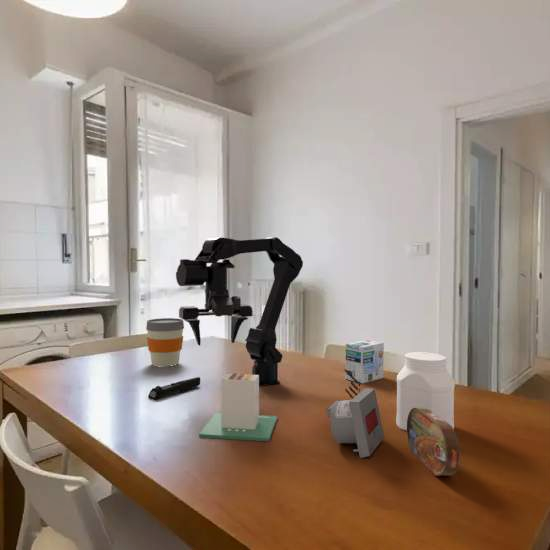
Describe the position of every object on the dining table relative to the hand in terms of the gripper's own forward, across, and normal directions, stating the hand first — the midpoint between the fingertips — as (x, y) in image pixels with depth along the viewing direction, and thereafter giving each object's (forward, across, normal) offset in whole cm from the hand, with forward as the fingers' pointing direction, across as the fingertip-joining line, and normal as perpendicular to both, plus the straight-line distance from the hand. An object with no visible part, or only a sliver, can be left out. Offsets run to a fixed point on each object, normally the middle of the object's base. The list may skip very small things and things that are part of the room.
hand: (216, 344), depth 110 cm
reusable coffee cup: (+13, -7, +38) cm, 41 cm away
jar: (+13, +34, -40) cm, 54 cm away
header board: (+13, -2, -25) cm, 28 cm away
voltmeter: (+13, +19, -36) cm, 43 cm away
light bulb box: (+13, +45, -4) cm, 47 cm away
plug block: (+12, -2, -25) cm, 28 cm away
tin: (+13, +23, -53) cm, 59 cm away
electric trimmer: (+14, -10, +5) cm, 17 cm away
